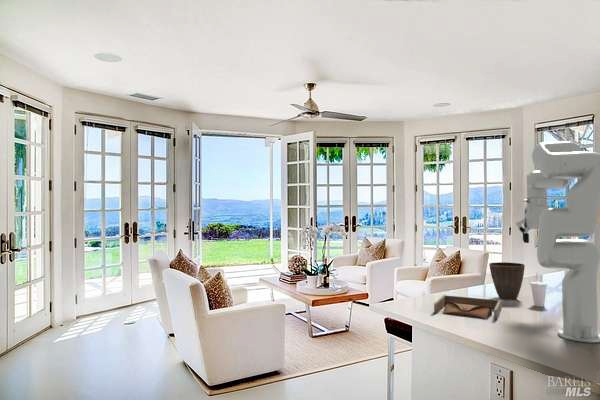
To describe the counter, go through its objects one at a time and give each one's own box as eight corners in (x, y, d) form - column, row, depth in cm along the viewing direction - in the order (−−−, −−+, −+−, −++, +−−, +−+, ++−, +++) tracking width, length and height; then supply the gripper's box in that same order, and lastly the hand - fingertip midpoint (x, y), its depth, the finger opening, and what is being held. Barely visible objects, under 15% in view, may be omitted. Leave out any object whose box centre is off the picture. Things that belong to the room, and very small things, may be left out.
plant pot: (493, 301, 192) (492, 265, 192) (487, 294, 206) (486, 261, 207) (529, 302, 188) (528, 266, 189) (520, 295, 203) (519, 262, 203)
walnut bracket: (497, 320, 159) (496, 309, 159) (434, 313, 170) (434, 303, 170) (501, 309, 175) (501, 300, 175) (443, 304, 187) (443, 295, 187)
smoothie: (532, 303, 187) (531, 271, 187) (549, 305, 183) (548, 272, 183) (529, 306, 182) (528, 273, 182) (546, 308, 178) (545, 274, 178)
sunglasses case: (440, 313, 169) (442, 297, 173) (444, 319, 175) (445, 303, 178) (489, 319, 160) (490, 302, 163) (491, 325, 165) (492, 308, 168)
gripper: (520, 201, 175) (521, 243, 174) (563, 201, 174) (564, 243, 173) (512, 202, 182) (513, 242, 182) (553, 201, 181) (554, 241, 181)
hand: (538, 242), depth 177 cm, fingers open, 9 cm apart
